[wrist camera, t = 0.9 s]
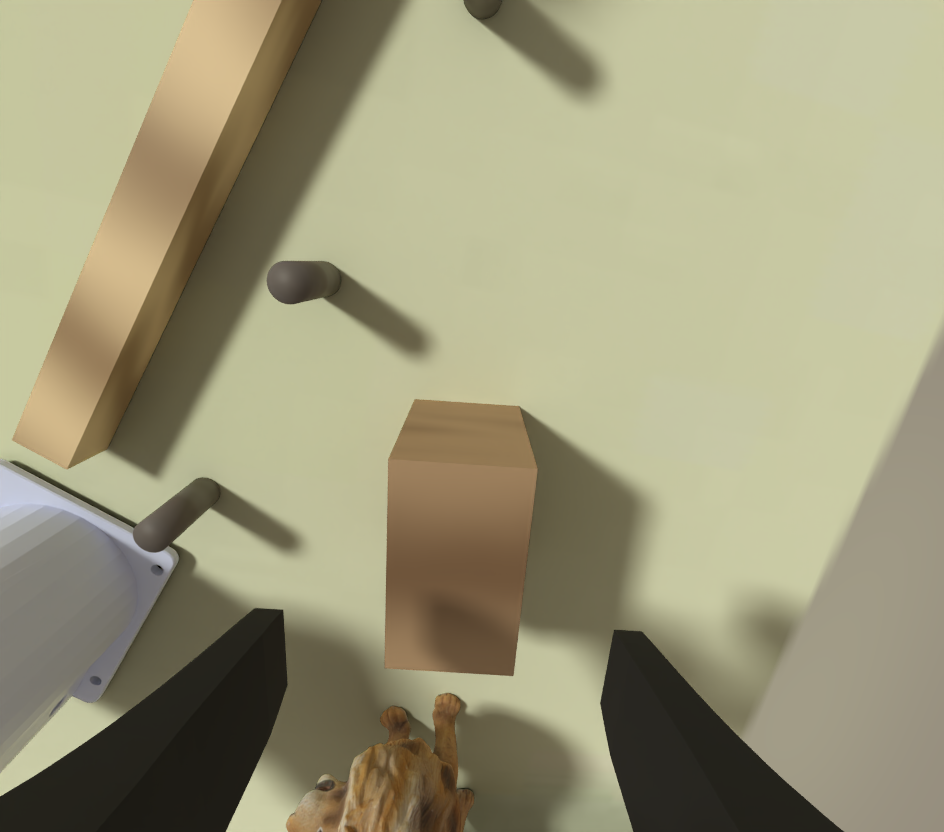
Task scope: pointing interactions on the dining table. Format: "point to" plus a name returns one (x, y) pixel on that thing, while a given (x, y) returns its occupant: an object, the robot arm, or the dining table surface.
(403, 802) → the lion figurine
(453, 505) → the wooden box
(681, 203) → the dining table surface
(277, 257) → the dining table surface
